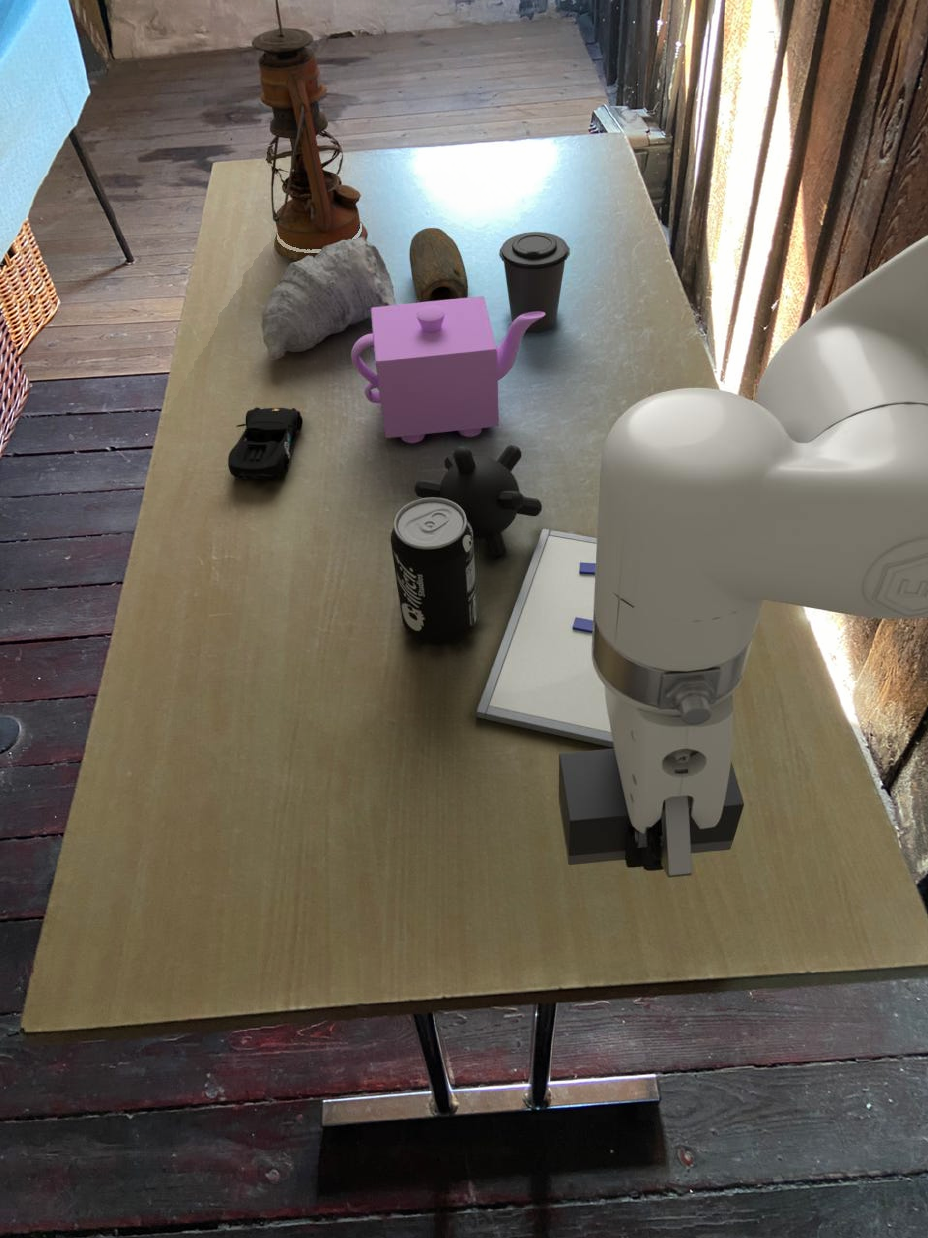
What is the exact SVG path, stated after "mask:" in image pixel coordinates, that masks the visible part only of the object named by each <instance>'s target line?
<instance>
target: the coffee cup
mask: <svg viewBox="0 0 928 1238" xmlns="http://www.w3.org/2000/svg"><path fill="white" fill-rule="evenodd" d="M570 252H571V251H570V247H569V245H568V243H567V242H566V241H565V240H564V239H563V238H562V237H560V236H558V235H555V234H553V233H549V232H543V231H542V232H541V231H532V232H523V233H519V234H515V235H513V236H511V237H510V238H508V239H506V240H505V241H503V243H502V245H501V247H500V248H499V253H498V256H499V257H500V259H501V261H502V262H503V266H504V267H503V268H504V275H505V279H506V280H505V281H506V289H507V296H508V303H509V304H508V305H509V312H510V318H511V324H512V323H513V321H514V320H515V319H516V318H517V317H519V316H520V315H522V314H525V313H528V312H535V311H541V312H545V316H544V317H542V318H540V319H538V320H537V321H535V322H534V323H532V324H531V325H530V326H529V327H528V328H527V330H526V331H525V333H528V334H539V333H545V332H546V331H549V330H551V329H552V328H553V327H554V326H555V325H556V323H557V316H558V309H559V303H560V297H561V291H562V284H563V277H564V271H565V264H566V261H567V259H568V258H569V257H570V255H571V253H570Z"/></svg>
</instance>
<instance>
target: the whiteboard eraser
mask: <svg viewBox="0 0 928 1238" xmlns="http://www.w3.org/2000/svg"><path fill="white" fill-rule="evenodd" d="M558 755H559V756H558V805H559V811H560V820H561V825H562V831H563V837H564V844H565V851H566V857H567V864H568V866H575V865H585V864H586V865H587V864H594V863H596V864H597V863H606V862H615V861H616V862H617V861H626V860H625V854H626V846H627V838H628V830H629V829H630V828H632V827H634V826H633V825H632V823H631V820H630V817H629V813H628V809H627V805H626V800H625V796H624V791H623V786H622V782H621V777H620V773H619V768H618V764H617V759H616V755H615V750H614V748H605V749H595V750H594V749H593V750H586V751H585V750H584V751H574V752H565V753H559V754H558ZM744 806H745V802H744V799H743V795H742V792H741V789H740V785H739V783H738V778H737V776H736V772H735V770H734V766H733V763H732V761H731V765H730V772H729V778H728V784H727V790H726V795H725V801H724V806H723V811H722V815H721V818H720V820H719V822H718V823H717V825H716V826H715V827H710V828H704V829H700V828H699V827H698V825H697V824H696V822H695V821H694V819H693V818H692V816H691V813H690V810H691V807H690V808H689V825H690V844H691V854H700V853H711V852H721V851H730V850H732V846H733V842H734V839H735V836H736V833H737V830H738V827H739V823H740V820H741V817H742V814H743V810H744ZM658 821H662V820H661V818H660V819H659V820H658Z"/></svg>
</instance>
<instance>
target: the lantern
mask: <svg viewBox="0 0 928 1238" xmlns="http://www.w3.org/2000/svg"><path fill="white" fill-rule="evenodd" d="M274 3H275V11H276V17H277V22H278V28H276V29H273V30H268V31H264V32H263V33H260V34H258V35H256V36H255V37H253V39H252V41H251V46H253V48H254V49H255V50H257V51H260V52H263V54H262V55H261V56H260V57H259V59H258V67H259V71H260V72H259V73H260V77H259V79H260V80H259V81H260V84H261V88H262V92H261V93H260V101H261V103H263V104H264V105H265V106H266V107H270V108H271V111H272V115H273V119H272V120H270V123H269V132H270V133H271V134H272V136H274V138H273V139H272V141H271V142H270V143H269V145H268V147H267V150H266V158H265V162H267V164H268V165H269V166H270V169H271V181H270V195H271V196H270V201H271V213H272V220H273V221H274V222H275V225H276V226H275V227H276V230H277V232H276V234H275V237H274V248H275V250H276V251H277V252H278V253H279V254H280V256H283V257H285V258H287V259H290V260H294V261H295V262H297V261H300V260H302V259H303V258H305V257H306V256H308V255H309V256H313V258H315V256H316V255H317V254H318V253H304V252H296V251H293V250H289V249H287V248H285V247H283V246H282V245H281V244H280V243H279V242H278V240H277V233H278V235H279V237H280V239H282V240H283V241H284V242H285V243H286V244H288V245H290V246H292V247H296V248H299V249H306V250H307V249H310V250H312V249H322V248H323V247H324V246H327V245H330V244H334V243H337V242H339V241H341V240H348V239H352V238H353V237H354V236H355V235H356V234H357V233H358V231H359V229H360V223H361V224H362V232H361V234H360V236H359V237H364V238H365V240H366V241H367V239H368V236H369V235H368V234H369V233H368V230H367V229H366V227H365V226H364V224H363V223H362V222H361V219H360V213H359V208H358V206H357V203H358V202H359V201H360V199H361V197H362V195H361V193H360V192H359V191H358V190H357V189H356V188H355V187H353V186H351V185H347V184H343V181H342V179H341V177H340V176H339V175H340V172H341V170H342V166H343V161H344V152H343V149H342V146H341V144H340V142H339V141H338V139H336V138H335V137H334V136H333V135H332V134H331V133H329V132H328V131H326V130H327V128H328V127H329V122H328V119H327V117H326V115H325V114H324V112H322V111H320V108H319V101H320V100H322V99H323V98H324V97H325V96H326V93H327V91H328V89H327V87H326V85H325V84H323V83H322V77H321V71H320V68H319V66H318V63H317V58H316V54H315V51H314V50H313V49H312V48H311V47H310V48H309V47H308V46H309V45H311V44H312V43H313V41H314V35H312V34H311V33H310V32H309V31H307V30H305V29H300V28H292V27H291V28H289V27H283V26H282V21H281V14H280V7H279V1H278V0H275V2H274ZM318 135H319V136H321V137H323V138H328V139H330V140H329V141H330V143H332V144H333V145H331V144H330V145H326V144H324V145H323V144H321V145H319V144H318V140H317V136H318ZM280 138H282V139H289V143H290V147H291V148H290V149H291V150H285V151H282V152H280V153H278V147H279V146H278V145H279V140H280ZM273 147H274V149H273ZM329 151H331V152H333V151H334V152H333V154H332V156H331V158H330V159H328V160H326V161H324V162H322V161H321V156H320V153H321V152H329ZM340 153H341V158H340V160H339V165H338V169H337V172H336V173H334V172H332V171H328V170H325V169H324V168H325V167H327V166H328V165H329V164H331V163H332V162H333V161H334V160H336V159H337V158H338V157H339V155H340ZM287 157H290V170H289V171H287V170H284V169H282V168H277V167H276V165H277V160H280V159H286V158H287ZM280 172H285V173H289V175H288V177H286V178H285V179H283V177H282V174H281V173H280ZM275 175H277V177H280V181H281V183H282V184H281V189H282V192H283V193H284V194H285V199H284V203H283V205H282V206H281V207H280V208H279V209H278V210H277V211H276V210H275V206H274V205H275V202H274V183H275ZM289 197H290V198H291V199H289ZM359 237H358V238H359Z"/></svg>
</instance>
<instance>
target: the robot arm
mask: <svg viewBox="0 0 928 1238" xmlns="http://www.w3.org/2000/svg"><path fill="white" fill-rule="evenodd" d="M598 492H599V493H598V511H597V529H596V530H597V531H596V538H597V548H596V568H595V588H594V612H593V631H592V646H591V653H592V661H593V665H594V668H595V670H596V672H597V675H598V677H599V678H600V680H601V681H602V682H603V684H604V685H605V698H606V706H607V712H608V718H609V723H610V729H611V734H612V739H613V744H614V748H613V749H614V750H615V755H616V759H617V764H618V768H619V773H620V777H621V782H622V786H623V791H624V796H625V800H626V805H627V809H628V813H629V817H630V820H631V823H632V825H633V826H634V827H632V828H630V829H629V830H628V838H627V846H626V854H625V860H624V861H625V864H626V865H625V866H626V867H628V868H631V869H632V868H633V869H634V868H643V870H644V871H649V872H652V871H653V872H655V871H661V870H664V873H665V875H666V877H667V878H677V877H678V878H679V877H689V876H690V877H691V876H692V874H693V866H692V853H691V844H690V825H689V808H690V807H691V810H690V813H691V816H692V818H693V819H694V821H695V822H696V824H697V825H698V827H699V828H700V829H704V828H710V827H715V826H716V825H717V823H718V822H719V820H720V818H721V815H722V811H723V806H724V801H725V795H726V790H727V784H728V778H729V772H730V765H731V762H732V755H733V746H734V725H735V724H734V721H735V720H734V701H733V694H734V693H735V692H736V691H737V690H738V688H739V687H740V685H741V683H742V682H743V680H744V677H745V675H746V670H747V666H748V663H749V658H750V654H751V650H752V647H753V642H754V638H755V634H756V630H757V627H758V623H759V620H760V616H761V611H762V607H763V603H764V601H767V602H768V601H770V602H775V603H781V604H787V605H792V606H798V607H803V608H810V609H815V610H821V611H825V612H830V613H831V612H832V613H838V614H842V615H848V616H854V617H861V618H871V619H879V620H917V619H920V620H921V619H926V618H928V234H927V235H925V236H924V237H922V238H920V239H918V240H917V241H915V242H913V243H912V244H911V245H909V246H908V247H906V248H905V249H903V250H902V251H900V252H899V253H898V254H896V255H895V256H893V257H892V258H890V259H889V260H887V261H886V262H884V263H883V264H881V265H880V266H879V267H877V268H876V269H875V270H873V271H872V272H870V273H869V274H868V275H866V276H865V277H863V278H862V279H860V280H859V281H857V282H856V283H855V284H853V285H852V286H850V287H849V288H848V289H846V290H845V291H844V292H842V293H840V294H839V295H838V296H837V297H835V298H834V299H832V301H830V302H829V303H827V304H826V305H825V306H823V307H822V308H821V309H819V310H818V311H817V312H816V313H814V314H813V315H812V316H811V317H810V318H809V319H808V320H806V321H805V322H804V323H803V324H802V325H801V326H800V327H799V328H798V329H797V330H796V331H795V332H793V334H791V336H789V337H788V338H787V339H786V340H785V342H784V343H783V344H782V345H781V346H780V347H779V349H778V350H777V352H775V354H774V356H773V357H772V358H771V360H770V361H769V363H768V364H767V365H766V368H765V370H764V371H763V374H762V375H761V378H760V381H759V383H758V387H757V391H756V395H755V401H753V400H752V399H749V398H747V397H745V396H742V395H739V394H737V393H734V392H730V391H727V390H723V389H717V388H710V387H709V388H708V387H684V388H675V389H671V390H666V391H662V392H659V393H658V392H657V393H655V394H652V395H650V396H647V397H646V398H644V399H641V400H639V401H638V402H636V403H634V404H632V405H631V406H630V407H629V408H628V409H627V410H626V411H625V412H624V413H622V414H621V415H620V416H619V417H618V418H617V420H616V421H615V423H614V424H613V425H612V427H611V429H610V430H609V432H608V435H607V437H606V440H605V442H604V445H603V448H602V453H601V461H600V474H599V491H598ZM660 818H661V820H662V821H658V820H659V819H660Z"/></svg>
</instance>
